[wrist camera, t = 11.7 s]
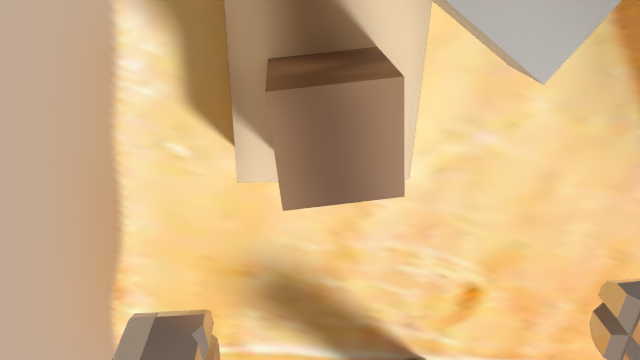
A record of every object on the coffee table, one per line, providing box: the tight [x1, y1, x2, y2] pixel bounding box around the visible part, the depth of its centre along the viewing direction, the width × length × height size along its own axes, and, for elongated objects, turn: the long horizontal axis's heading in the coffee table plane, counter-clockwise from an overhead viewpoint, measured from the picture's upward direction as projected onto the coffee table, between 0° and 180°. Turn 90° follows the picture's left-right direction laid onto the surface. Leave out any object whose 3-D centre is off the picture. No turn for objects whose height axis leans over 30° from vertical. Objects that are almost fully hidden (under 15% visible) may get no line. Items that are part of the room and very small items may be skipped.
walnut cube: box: [265, 47, 404, 211], centre depth 20 cm, size 5×5×5 cm
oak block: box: [224, 0, 432, 183], centre depth 23 cm, size 9×9×4 cm
